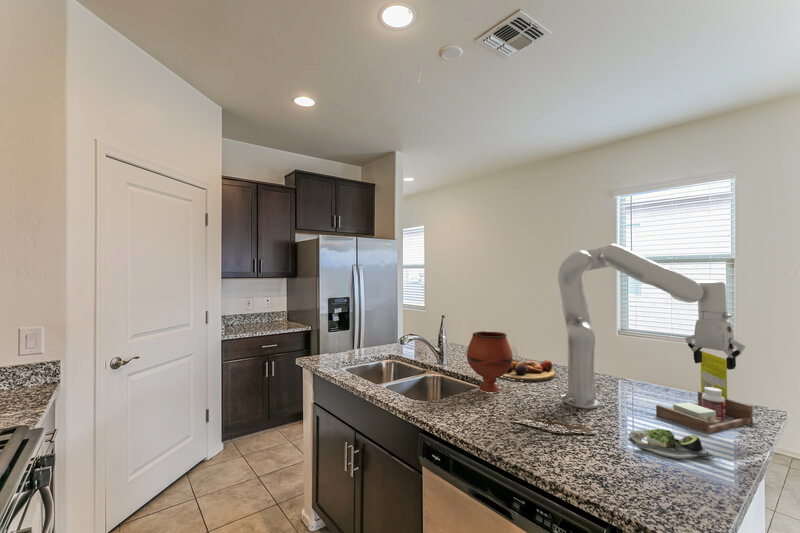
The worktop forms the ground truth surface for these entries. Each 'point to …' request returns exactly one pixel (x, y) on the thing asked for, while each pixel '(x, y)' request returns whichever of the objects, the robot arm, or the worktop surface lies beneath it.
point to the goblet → (489, 357)
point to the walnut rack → (731, 409)
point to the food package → (714, 373)
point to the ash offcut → (702, 418)
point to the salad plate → (669, 444)
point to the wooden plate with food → (530, 371)
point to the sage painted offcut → (694, 410)
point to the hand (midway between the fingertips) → (714, 365)
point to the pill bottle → (714, 401)
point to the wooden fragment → (565, 426)
